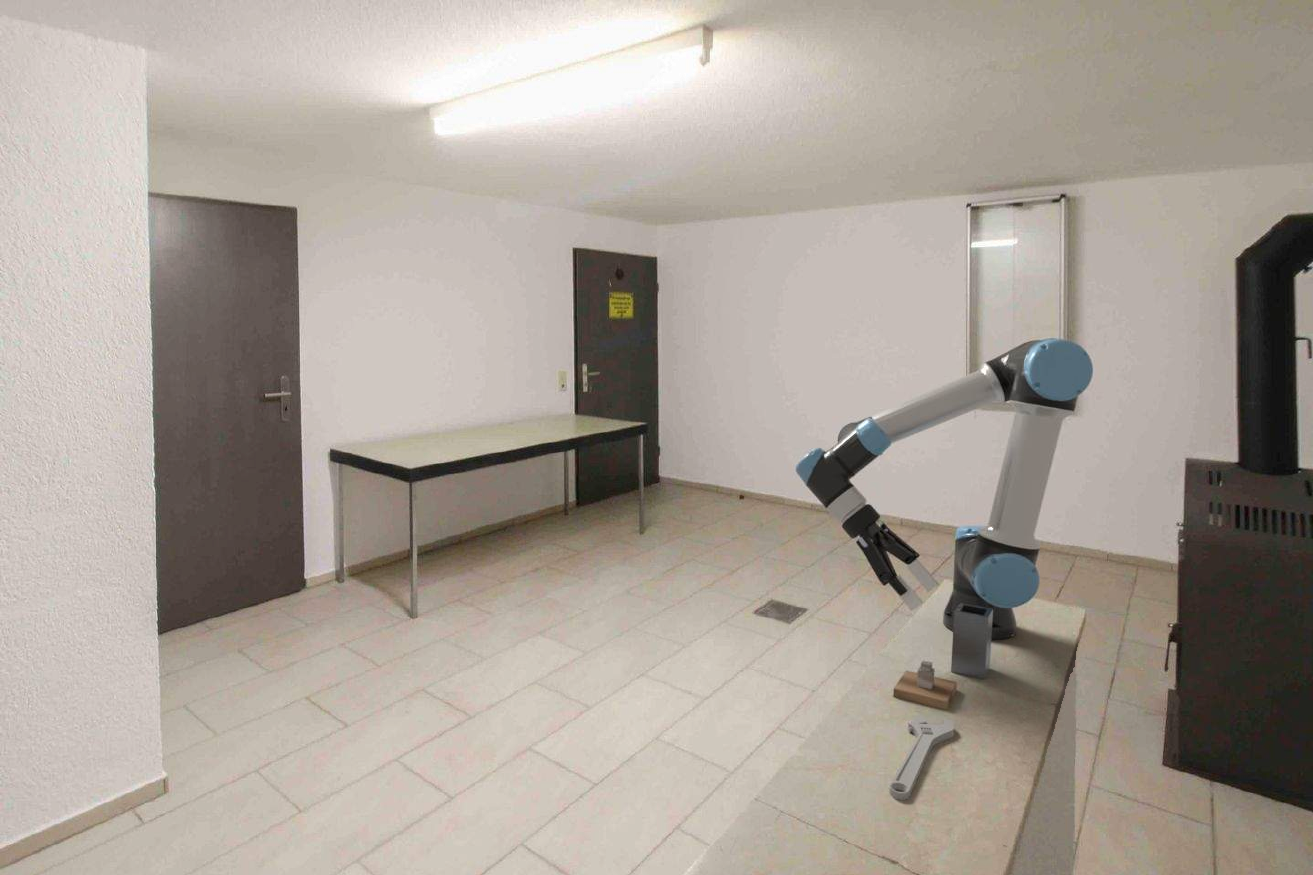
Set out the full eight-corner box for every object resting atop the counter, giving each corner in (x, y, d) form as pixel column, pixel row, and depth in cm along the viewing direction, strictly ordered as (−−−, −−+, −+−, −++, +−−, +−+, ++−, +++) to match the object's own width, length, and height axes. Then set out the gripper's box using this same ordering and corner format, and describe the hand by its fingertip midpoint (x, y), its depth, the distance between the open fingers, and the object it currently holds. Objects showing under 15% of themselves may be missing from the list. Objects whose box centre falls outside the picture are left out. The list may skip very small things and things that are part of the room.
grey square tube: (957, 661, 145) (960, 602, 143) (989, 668, 141) (993, 608, 140) (951, 671, 140) (954, 611, 138) (984, 679, 136) (988, 617, 135)
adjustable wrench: (906, 806, 98) (907, 794, 98) (860, 789, 102) (861, 777, 102) (957, 731, 118) (958, 720, 118) (917, 719, 122) (918, 709, 122)
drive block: (905, 680, 137) (906, 648, 136) (956, 692, 132) (957, 659, 131) (893, 699, 129) (894, 665, 128) (946, 712, 124) (948, 677, 124)
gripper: (859, 514, 162) (926, 591, 156) (820, 536, 141) (894, 626, 135) (884, 493, 159) (953, 571, 152) (847, 512, 138) (925, 604, 131)
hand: (926, 597), depth 143 cm, fingers open, 13 cm apart
